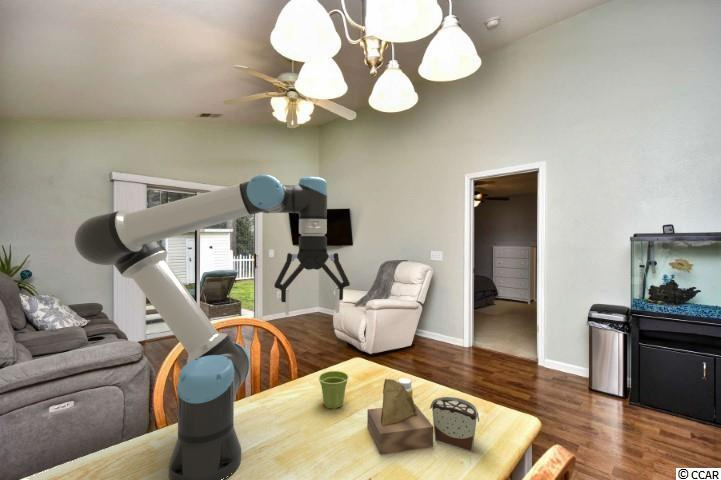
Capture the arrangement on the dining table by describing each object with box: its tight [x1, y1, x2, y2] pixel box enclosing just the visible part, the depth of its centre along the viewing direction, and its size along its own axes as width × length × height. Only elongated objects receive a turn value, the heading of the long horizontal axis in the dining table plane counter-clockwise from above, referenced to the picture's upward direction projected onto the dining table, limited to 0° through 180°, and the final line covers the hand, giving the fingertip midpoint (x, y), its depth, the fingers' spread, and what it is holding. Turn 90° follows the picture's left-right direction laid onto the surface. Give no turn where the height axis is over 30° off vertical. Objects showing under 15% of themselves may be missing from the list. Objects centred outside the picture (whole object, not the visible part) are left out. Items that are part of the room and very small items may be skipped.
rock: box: [381, 378, 417, 426], centre depth 91 cm, size 11×9×10 cm
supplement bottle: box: [397, 377, 413, 398], centre depth 106 cm, size 5×5×8 cm
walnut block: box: [366, 404, 434, 455], centre depth 91 cm, size 14×12×5 cm
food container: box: [429, 396, 480, 454], centre depth 90 cm, size 12×6×10 cm, turn 59°
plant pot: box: [318, 370, 350, 409], centre depth 108 cm, size 9×9×9 cm
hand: (312, 313), depth 94 cm, fingers open, 13 cm apart
